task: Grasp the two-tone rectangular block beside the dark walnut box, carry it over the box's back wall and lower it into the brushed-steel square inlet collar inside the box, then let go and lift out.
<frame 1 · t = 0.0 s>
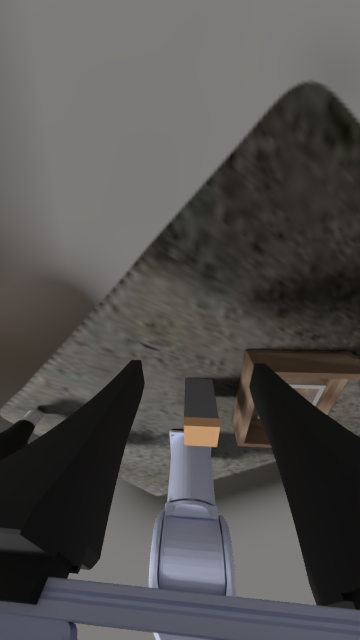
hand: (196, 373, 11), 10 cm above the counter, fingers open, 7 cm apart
walnut box: (281, 390, 25), on the counter
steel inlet: (286, 398, 23), in the walnut box, point 1 cm above the counter
two-tone rectangular block: (198, 387, 25), on the counter
light bulb: (40, 408, 30), on the counter
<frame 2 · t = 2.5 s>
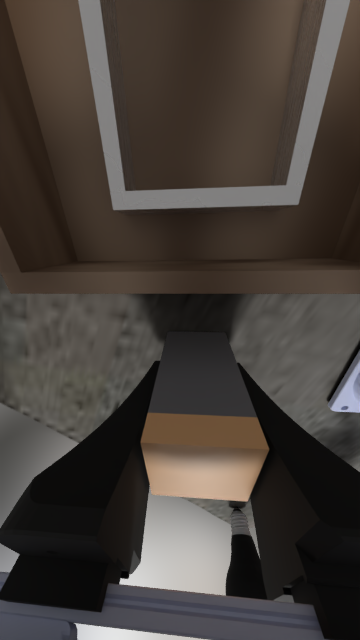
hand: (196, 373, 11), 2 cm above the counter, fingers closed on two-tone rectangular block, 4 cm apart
walnut box: (203, 110, 7), on the counter
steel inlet: (206, 81, 5), in the walnut box, point 1 cm above the counter
two-tone rectangular block: (195, 354, 12), on the counter, touching gripper
light bulb: (236, 506, 25), on the counter
when the fingers open (4 cm above the counter, at t = 6.6 s): two-tone rectangular block drops 2 cm, resting on walnut box.
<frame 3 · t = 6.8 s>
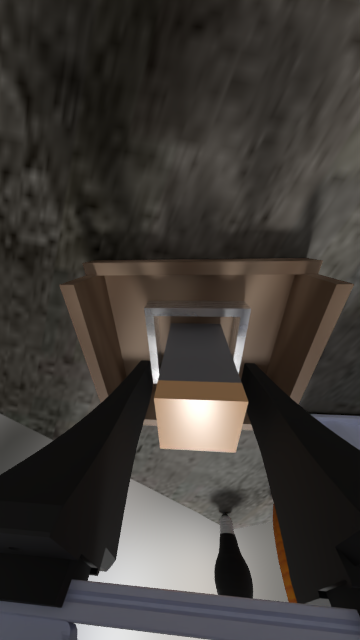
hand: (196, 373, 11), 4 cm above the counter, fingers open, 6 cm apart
walnut box: (194, 336, 14), on the counter
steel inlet: (195, 345, 13), in the walnut box, point 1 cm above the counter
carrot: (275, 498, 29), on the counter
two-tone rectangular block: (194, 343, 14), point 1 cm above the counter, touching walnut box
light bulb: (224, 511, 33), on the counter
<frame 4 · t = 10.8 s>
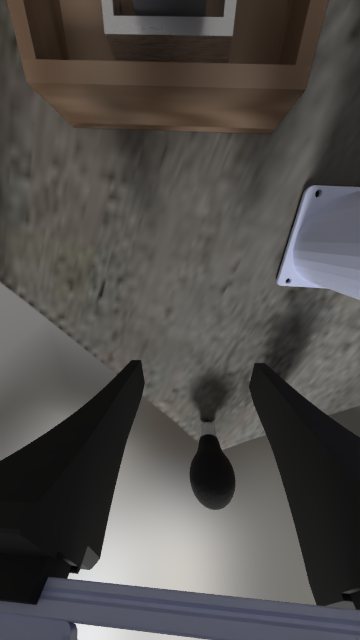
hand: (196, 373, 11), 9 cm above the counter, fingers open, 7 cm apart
light bulb: (206, 420, 28), on the counter
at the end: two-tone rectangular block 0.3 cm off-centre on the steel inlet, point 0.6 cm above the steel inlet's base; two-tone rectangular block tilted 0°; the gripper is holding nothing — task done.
